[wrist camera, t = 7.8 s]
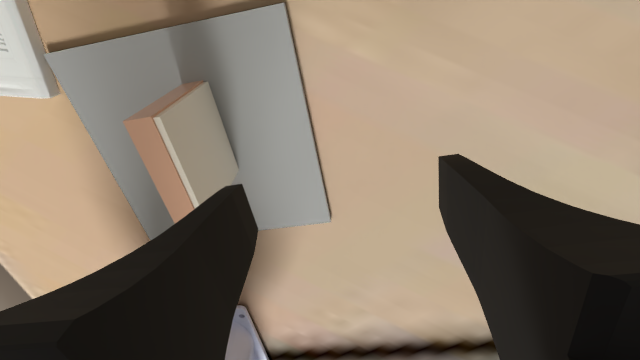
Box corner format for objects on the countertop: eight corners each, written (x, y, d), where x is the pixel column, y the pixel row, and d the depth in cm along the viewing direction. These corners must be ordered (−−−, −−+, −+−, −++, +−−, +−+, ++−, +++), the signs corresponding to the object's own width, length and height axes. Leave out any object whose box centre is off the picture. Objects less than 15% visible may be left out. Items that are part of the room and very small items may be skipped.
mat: (330, 218, 24) (330, 222, 23) (154, 239, 26) (151, 242, 25) (285, 2, 17) (283, 2, 17) (48, 53, 19) (43, 54, 19)
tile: (239, 170, 22) (208, 228, 17) (217, 173, 22) (179, 232, 17) (207, 79, 19) (157, 115, 14) (181, 83, 19) (122, 121, 14)
